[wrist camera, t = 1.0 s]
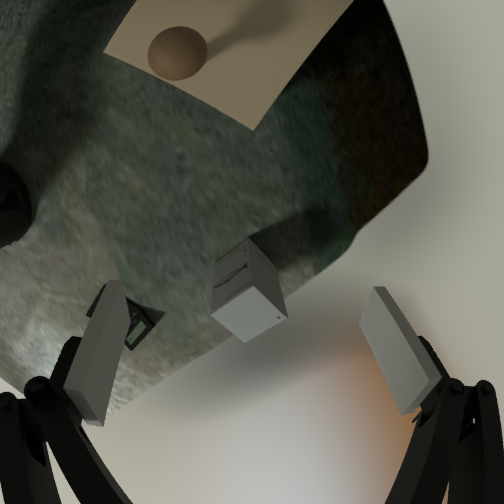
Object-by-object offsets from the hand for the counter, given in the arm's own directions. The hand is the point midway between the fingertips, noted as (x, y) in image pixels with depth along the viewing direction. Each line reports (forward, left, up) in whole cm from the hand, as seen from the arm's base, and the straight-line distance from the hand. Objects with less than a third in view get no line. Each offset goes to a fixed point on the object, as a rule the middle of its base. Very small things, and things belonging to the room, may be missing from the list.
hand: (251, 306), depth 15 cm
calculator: (-4, -35, -30) cm, 46 cm away
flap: (-11, +16, -17) cm, 26 cm away
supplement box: (+10, -13, -30) cm, 34 cm away
